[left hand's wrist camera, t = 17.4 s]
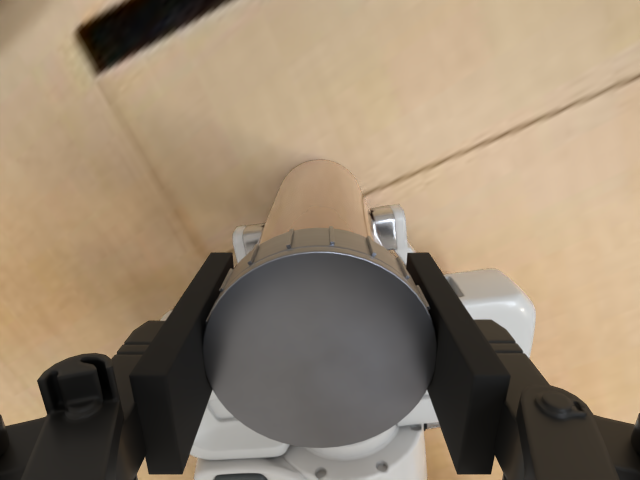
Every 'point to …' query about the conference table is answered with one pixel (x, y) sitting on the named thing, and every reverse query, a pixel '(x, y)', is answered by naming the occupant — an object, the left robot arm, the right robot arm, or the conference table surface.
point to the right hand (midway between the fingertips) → (316, 218)
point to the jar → (319, 202)
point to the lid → (319, 339)
